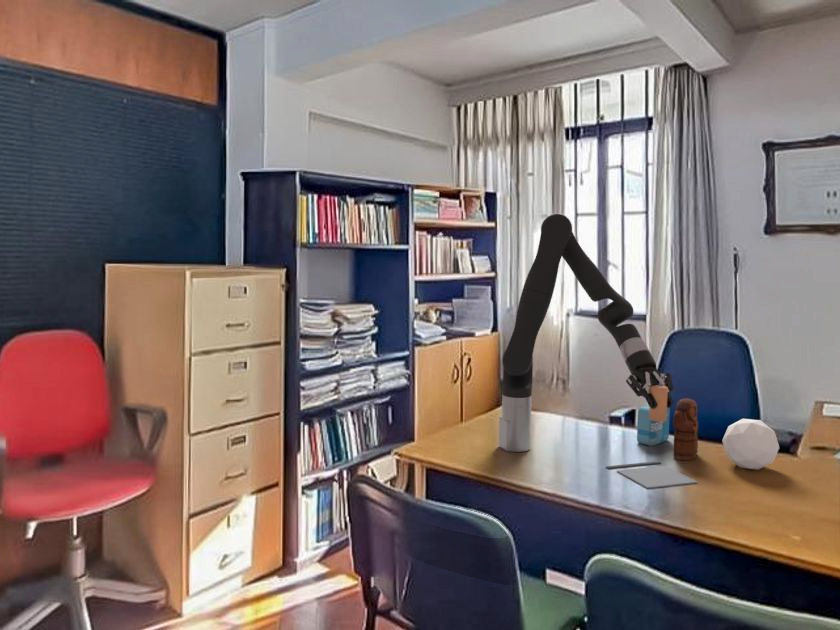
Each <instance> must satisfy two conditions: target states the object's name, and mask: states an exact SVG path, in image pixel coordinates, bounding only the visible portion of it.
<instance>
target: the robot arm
mask: <svg viewBox="0 0 840 630" xmlns="http://www.w3.org/2000/svg"><path fill="white" fill-rule="evenodd" d="M562 259H563V260H564V261H565V263H566V264H567V265H568V267H569V268H570V270H571V272H572V273H573V275H574V276H575V278H576V279H577V281H578V283H579V284H580V286H581V287H582V289H583V290H584V292H586V295H587V296H588V297H589V298H590V300H591V301H592V302H600V301H602V300H605V299H606V300H607V299H608V300H611V302H609V303H608V304H606V305H605V306H603V307H601V308H599V310H598V311H597V320H598V321H599V323H600V324H601V325H602V326H603V327H604V328H605V329H606V330H607V331H608V332H609V334H611V336H612V337H613V339H614V340H615V342H616V345H617V346H618V348H619V351H620V353H621V356H622V358H623V360H624V363H625V364H626V366H627V369H628V370H629V372H630V375H629V376H628V377H627V379H626V380H625V382H626V383H627V385H628V386H629V387H630V389H631V390H632V391H633V392H634V394H635V395H636V396H637V397H639V398H640V397H643V398H644V399H645V401H646V403H647V404H648V405H649V406H650V407H651V408H652V409H655V408H656V407H657V405H658V404H657V402H656V400H655V398H654V396H653V395H652V394H650V393H651V389H650V386H654V385H658V386H666V387H668V396H667V407H668V408H670V409H671V408H672V406H674V399H673V398H672V396H671V393H672V391H674V384H673V381H672V378H671V377H672V376H671V373H670V372H666V373H661V371H659V370H658V369H657V363H656V361H655V358H654V357H653V356H652V352H650V350H649V348H648V346H647V344H646V343H645V341H644V340H643V338H642V336H641V334H640V332H639V331H638V328H637V327H636V326H635V325H634V324H632V323H625V324H623V323H624V322H626V321H627V320H629V319H631V317H633V315H634V307H633V305H632V304H631V303H630V302H629V301H628V300H627V299H626V298H625V297H623V296H622V295H621V294H620V293H619V292H617V291H616V290H615V289H614V288H613V286H611V284H610V283H609V282H608V280H607V279H606V278H605V276H604V275H603V273H602V272H601V271H600V269H599V268H598V266H597V265H596V264H595V263H594V262H593V261H592V259H591V258H590V257H589V256H588V255H587V253H586V252H585V251H584V249H583V248H582V247H581V245H580V244H579V242H578V240H577V238H576V237H575V235H574V232H573V224H572V222H571V220H570V218H568V217H567V216H566V215H565V214H562V213H552V214H550V215H549V216H547V217H546V218H544V220H543V221H542V222H541V225H540V238H539V242H538V246H537V251H536V255H535V258H534V260H533V262H532V265H531V267H530V269H529V271H528V274H527V276H526V278H525V280H524V284H523V288H522V290H521V293H520V296H519V297H520V298H519V302H518V306H517V311H516V316H515V317H516V318H515V323H514V328H513V332H512V334H511V337H510V339H509V342H508V344H507V347H506V349H505V351H504V353H503V355H502V360H501V361H502V366H503V373H502V374H503V377H502V387H501V390H502V392H501V395H502V397H501V398H502V399H501V416H499V417H498V420H499V421H498V446H499V447H500V448H501V449H502V450H503V451H505V452H519V453H521V452H527V451H529V450H530V449H531V443H532V441H531V438H532V437H531V435H532V434H531V429H532V393H533V392H532V391H533V370H534V367H533V366H534V357H533V356H534V355H533V354H534V349H535V344H536V342H537V341H536V340H537V337H538V335H539V334H538V333H539V332H540V329H541V328H542V325H543V322H544V321H545V318H546V316H547V312H548V310H549V307H550V305H551V301H552V298H553V295H554V291H555V287H556V283H557V278H558V272H559V268H560V267H559V266H560V263H561V260H562ZM620 324H621V325H620ZM648 405H647V406H648Z"/></svg>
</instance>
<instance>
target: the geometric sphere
mask: <svg viewBox="0 0 840 630" xmlns="http://www.w3.org/2000/svg"><path fill="white" fill-rule="evenodd" d="M726 428H727V429H726V431H725V433H724V435H723V438H722V440H721V441H722V445H723V448H724V452H725V456H726V457H727V458H728V459H729V460H731V461H732V463H734V464H735V465H737V466H738V467H739V468H741V469H749V470H757V471H758V470H760V469H762V468H765V467H767V466H768V465H770V464H772V463H774V460H775V458H776V456H777V454H778V452H779V450H780V445H779V442H778V438H777V435H776V432H775V430H773V429H772V428H771V427H769V426H768V425H767V424H766V423H764V422H763V421H762V420H761V419H751V418H741V419H739V420H738V421H735V422H734V423H732V424H730V425H728V426H727V427H726Z"/></svg>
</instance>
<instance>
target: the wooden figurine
mask: <svg viewBox="0 0 840 630" xmlns="http://www.w3.org/2000/svg"><path fill="white" fill-rule="evenodd" d="M699 425H700V424H699V420H698V404H697V402H696V400H694V399H693V398H692V399H691V398H687V397H686V398H681V399H679V400H678V401H677V403H676V405H675V411H674V414H673V422H672V426H673V428H674V430H673V431H674V433H673V459H675V460H676V461H693V460H696V457H697V456H698V454H697V453H698V447H699V444H698V442H699V441H698V439H699V438H698V434H699Z"/></svg>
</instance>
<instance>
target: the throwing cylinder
mask: <svg viewBox="0 0 840 630" xmlns="http://www.w3.org/2000/svg"><path fill="white" fill-rule="evenodd" d="M650 389H651V393H650V394H652V395H653V396H654V398H655V400H656V402H657V404H658V405H657V407H656V408H655V409H652V408H651V407H650V406H649V420H652V421H657V422H664V421H666V420H667V396H668V387H666V386H659V384H658V385H654V386H650Z"/></svg>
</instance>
